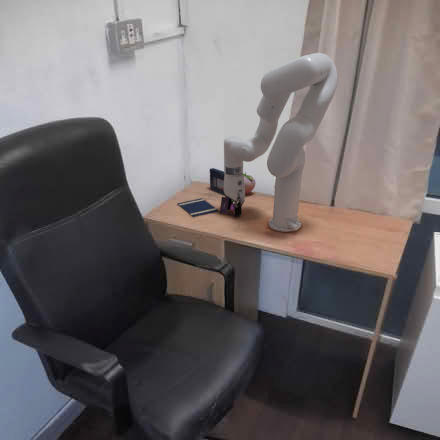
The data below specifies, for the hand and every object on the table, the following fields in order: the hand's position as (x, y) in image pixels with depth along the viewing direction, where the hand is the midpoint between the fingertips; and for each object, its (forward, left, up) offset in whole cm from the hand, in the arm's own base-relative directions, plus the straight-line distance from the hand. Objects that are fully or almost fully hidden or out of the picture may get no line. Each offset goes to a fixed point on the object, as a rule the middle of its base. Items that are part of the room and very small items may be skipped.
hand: (233, 212), depth 175 cm
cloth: (+14, +10, -1) cm, 17 cm away
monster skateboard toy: (+1, 0, -1) cm, 2 cm away
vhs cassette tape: (+22, -8, -1) cm, 24 cm away
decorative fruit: (+17, -16, -1) cm, 23 cm away
